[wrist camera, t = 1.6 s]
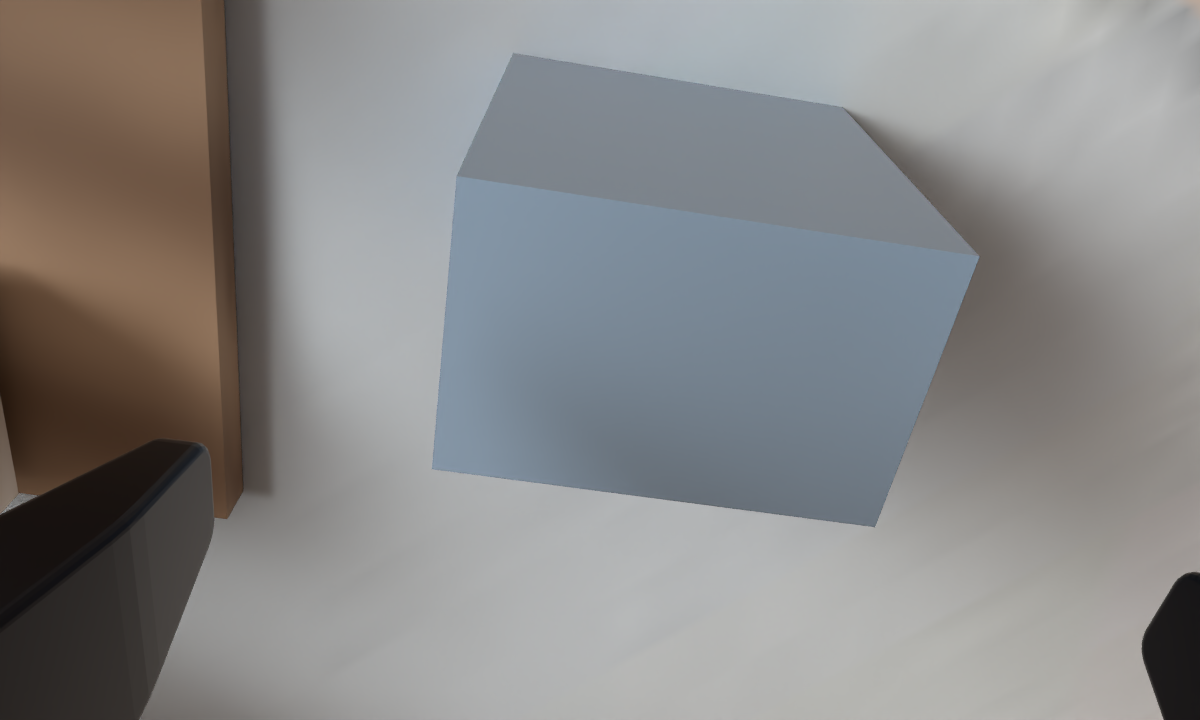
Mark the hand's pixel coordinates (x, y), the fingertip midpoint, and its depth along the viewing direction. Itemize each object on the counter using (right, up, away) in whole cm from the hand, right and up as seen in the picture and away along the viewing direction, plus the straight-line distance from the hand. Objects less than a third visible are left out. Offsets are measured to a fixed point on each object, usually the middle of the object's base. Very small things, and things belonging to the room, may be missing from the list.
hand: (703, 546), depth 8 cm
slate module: (0, +5, +9) cm, 10 cm away
